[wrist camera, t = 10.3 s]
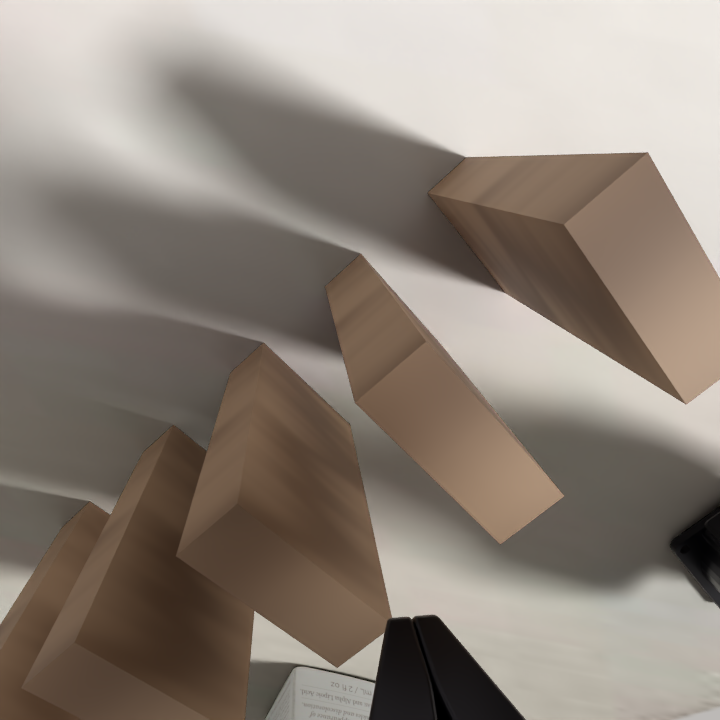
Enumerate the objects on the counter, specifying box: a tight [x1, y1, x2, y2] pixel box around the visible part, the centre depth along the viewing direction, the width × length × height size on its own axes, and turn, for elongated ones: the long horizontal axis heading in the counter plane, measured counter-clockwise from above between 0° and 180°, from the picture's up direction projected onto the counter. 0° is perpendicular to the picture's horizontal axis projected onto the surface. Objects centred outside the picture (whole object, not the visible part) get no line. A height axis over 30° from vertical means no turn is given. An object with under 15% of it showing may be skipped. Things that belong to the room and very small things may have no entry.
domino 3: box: [176, 343, 392, 668], centre depth 16 cm, size 5×2×10 cm, turn 41°
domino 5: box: [428, 153, 720, 404], centre depth 14 cm, size 5×2×10 cm, turn 41°
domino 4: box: [325, 254, 564, 544], centre depth 15 cm, size 5×2×10 cm, turn 41°
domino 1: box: [0, 502, 110, 720], centre depth 18 cm, size 5×2×10 cm, turn 42°
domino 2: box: [21, 425, 254, 720], centre depth 17 cm, size 5×2×10 cm, turn 41°
